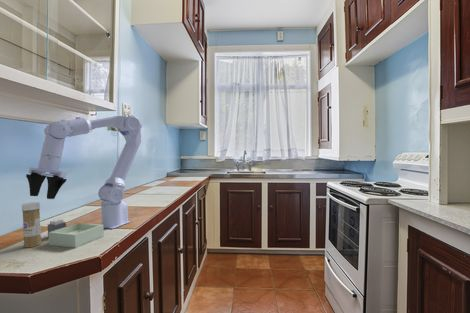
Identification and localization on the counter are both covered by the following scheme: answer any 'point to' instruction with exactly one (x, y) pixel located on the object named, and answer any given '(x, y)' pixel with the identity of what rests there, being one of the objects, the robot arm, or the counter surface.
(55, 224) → the grey plug
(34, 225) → the sprinkles bottle
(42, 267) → the counter surface
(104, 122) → the robot arm
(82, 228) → the green box
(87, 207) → the counter surface
